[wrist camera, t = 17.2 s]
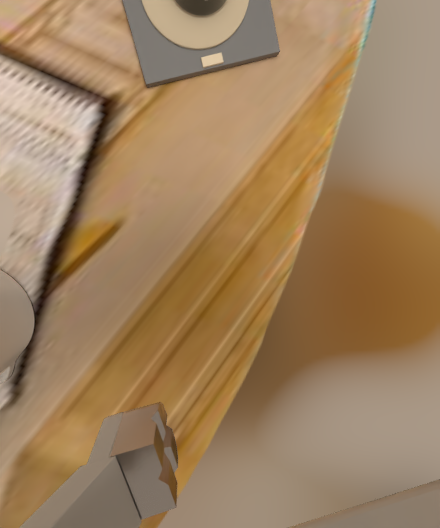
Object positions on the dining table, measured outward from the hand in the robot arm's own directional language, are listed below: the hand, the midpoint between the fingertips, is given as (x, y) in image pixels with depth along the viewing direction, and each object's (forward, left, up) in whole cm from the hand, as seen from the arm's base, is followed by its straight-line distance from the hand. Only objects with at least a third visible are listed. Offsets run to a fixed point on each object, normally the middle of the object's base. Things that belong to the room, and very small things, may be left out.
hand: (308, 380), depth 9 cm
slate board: (+5, +27, -34) cm, 44 cm away
